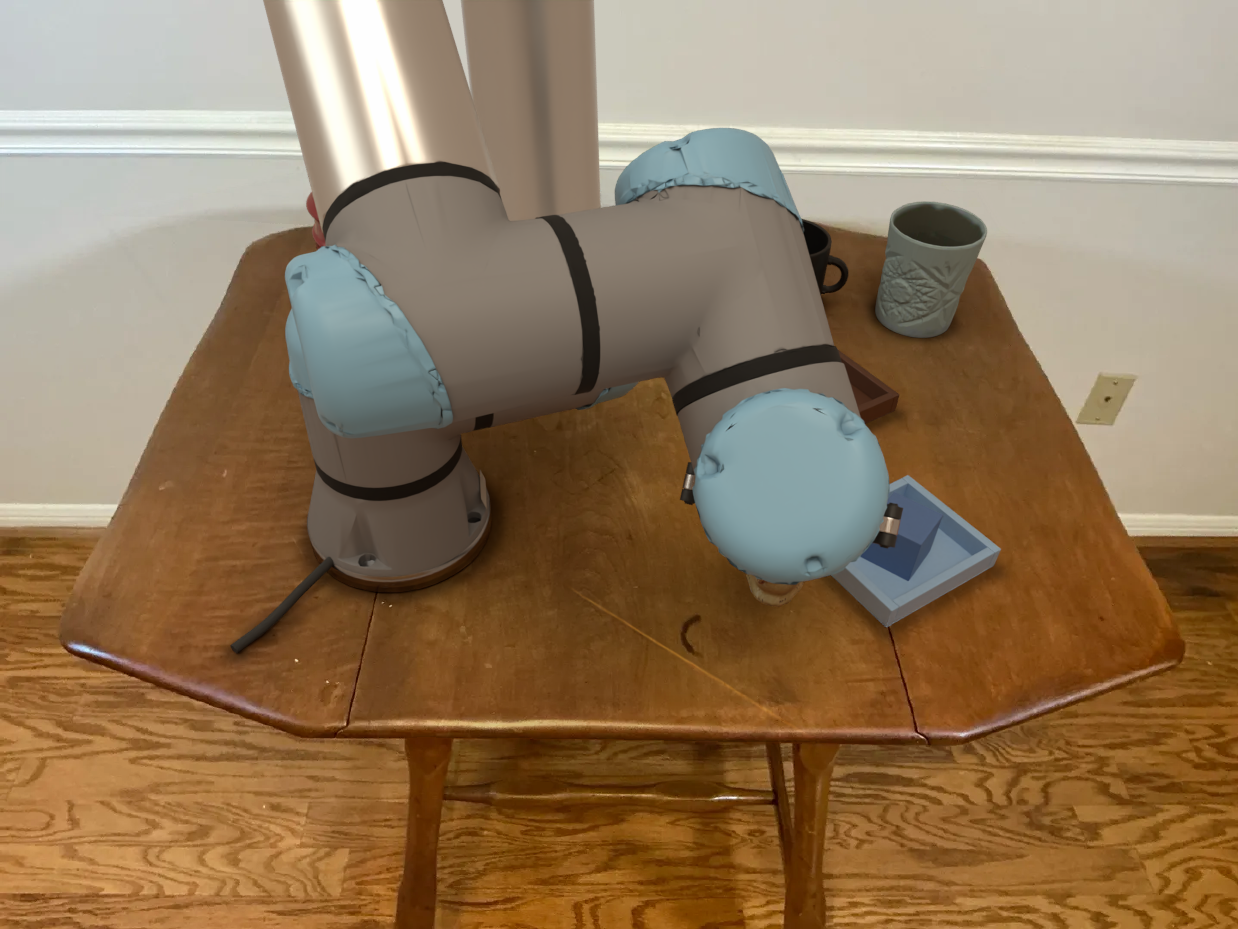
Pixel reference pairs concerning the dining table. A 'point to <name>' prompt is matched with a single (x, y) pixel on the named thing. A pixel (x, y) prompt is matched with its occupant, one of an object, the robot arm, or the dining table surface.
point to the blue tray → (941, 571)
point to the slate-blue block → (907, 539)
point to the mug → (822, 256)
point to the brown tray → (869, 391)
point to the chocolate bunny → (772, 591)
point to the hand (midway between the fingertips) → (788, 509)
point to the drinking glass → (927, 266)
